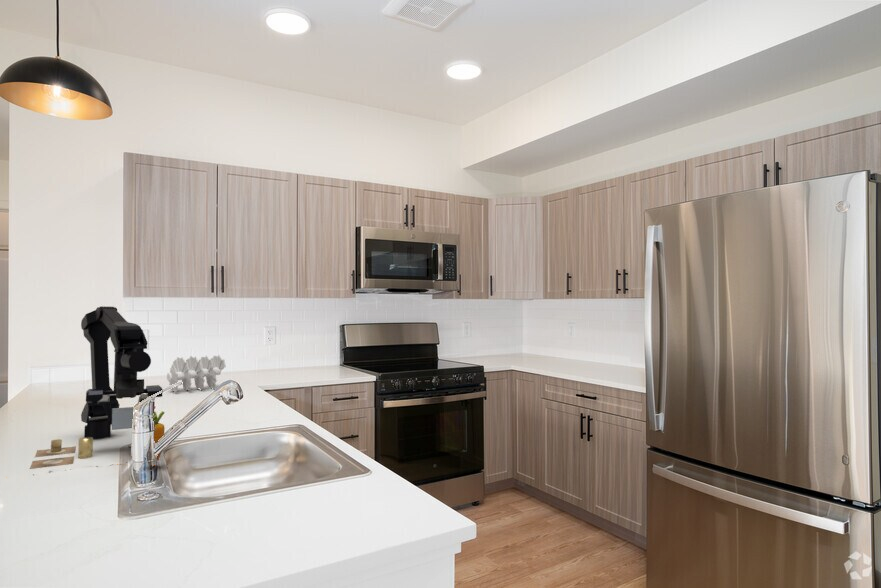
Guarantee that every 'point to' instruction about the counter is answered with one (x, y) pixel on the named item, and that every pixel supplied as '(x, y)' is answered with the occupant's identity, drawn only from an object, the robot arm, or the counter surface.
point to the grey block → (122, 418)
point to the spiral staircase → (195, 371)
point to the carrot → (158, 429)
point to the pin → (85, 447)
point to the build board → (52, 462)
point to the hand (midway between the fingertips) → (124, 423)
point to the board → (43, 452)
